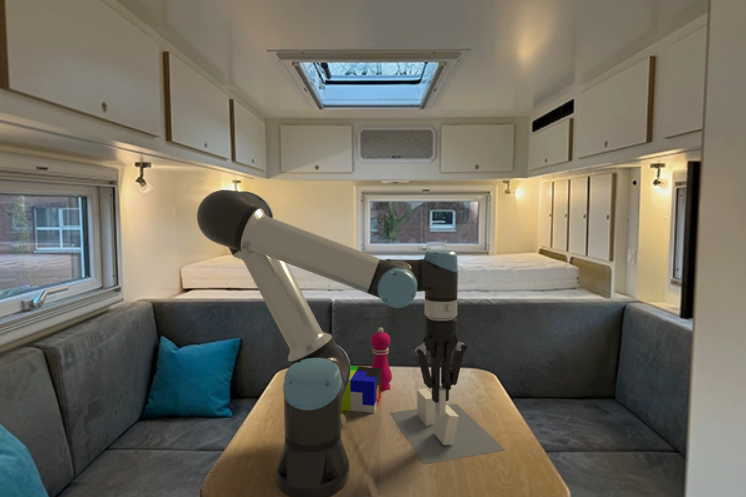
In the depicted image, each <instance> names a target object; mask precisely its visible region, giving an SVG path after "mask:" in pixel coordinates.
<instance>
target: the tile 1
mask: <svg viewBox="0 0 746 497" xmlns="http://www.w3.org/2000/svg"><path fill="white" fill-rule="evenodd" d="M416 394H417V395H416V398H417V399H416V409H417V415H418V416H419V418H420V419H421V420H422V421H423V423H424V424H425V425H426V426H427V425H433V424H434V423H435V402H434V401H433V400H432V392H430V391H429V390H428V389H427V388H418V389H417V391H416Z"/></svg>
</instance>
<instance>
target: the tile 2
mask: <svg viewBox="0 0 746 497" xmlns="http://www.w3.org/2000/svg"><path fill="white" fill-rule="evenodd" d="M448 405H449V404H446V416H445V417H439V416H438V415H437V414H436V418H435V423H434V427H433V433H434V434H435V435H436V437H437V438H438V439H439V440H440V442H441V443H442V444H443V445H453V442H454V437H455V433H456V428H457V423H458V419H459V416H458V415H457V414H456V413H455V412H454V411H453V410H452V409H451V408H450V407H449V406H448Z"/></svg>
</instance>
